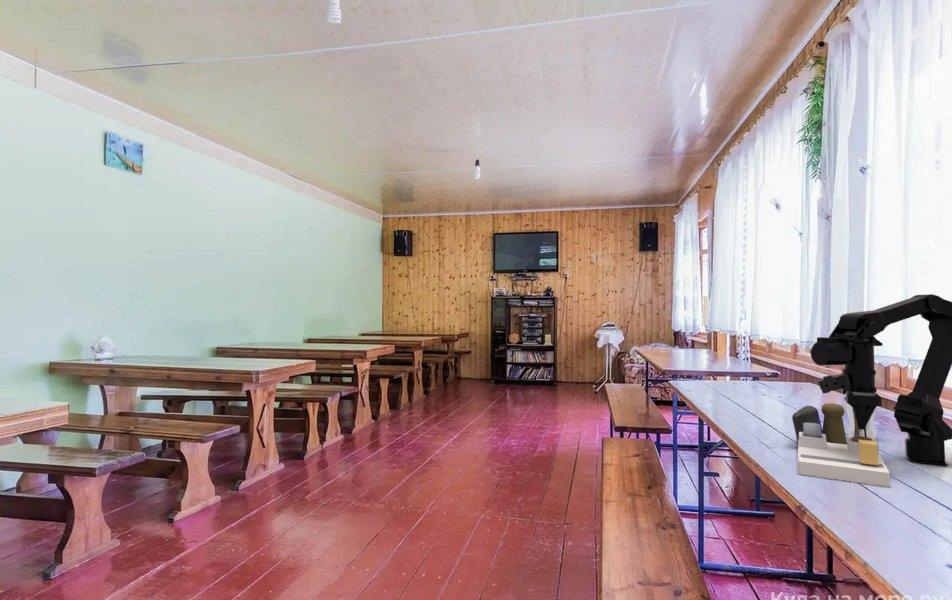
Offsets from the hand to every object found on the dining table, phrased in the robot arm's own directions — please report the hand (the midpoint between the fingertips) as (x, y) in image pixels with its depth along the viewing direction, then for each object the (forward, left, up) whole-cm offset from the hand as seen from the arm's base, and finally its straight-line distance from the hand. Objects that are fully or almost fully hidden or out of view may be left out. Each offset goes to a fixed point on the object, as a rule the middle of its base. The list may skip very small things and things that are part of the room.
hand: (861, 429), depth 118 cm
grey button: (+10, 0, -3) cm, 10 cm away
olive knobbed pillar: (+5, -18, -9) cm, 21 cm away
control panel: (+5, +6, -8) cm, 11 cm away
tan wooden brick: (0, +12, -5) cm, 13 cm away
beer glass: (-2, -28, -9) cm, 29 cm away
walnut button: (0, 0, -5) cm, 5 cm away
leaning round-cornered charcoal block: (+10, -14, -8) cm, 19 cm away
